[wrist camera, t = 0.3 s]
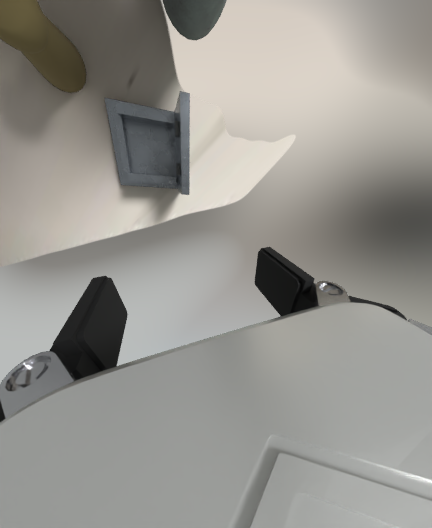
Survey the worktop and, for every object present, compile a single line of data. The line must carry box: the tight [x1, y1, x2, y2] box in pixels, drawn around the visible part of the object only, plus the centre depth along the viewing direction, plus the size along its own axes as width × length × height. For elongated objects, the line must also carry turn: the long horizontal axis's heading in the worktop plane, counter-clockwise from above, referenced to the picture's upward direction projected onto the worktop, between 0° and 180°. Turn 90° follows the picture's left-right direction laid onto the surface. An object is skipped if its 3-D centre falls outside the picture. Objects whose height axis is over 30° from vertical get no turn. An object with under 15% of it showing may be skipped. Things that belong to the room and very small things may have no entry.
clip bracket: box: [105, 91, 190, 195], centre depth 26 cm, size 12×12×10 cm
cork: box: [0, 0, 86, 93], centre depth 18 cm, size 6×6×11 cm
